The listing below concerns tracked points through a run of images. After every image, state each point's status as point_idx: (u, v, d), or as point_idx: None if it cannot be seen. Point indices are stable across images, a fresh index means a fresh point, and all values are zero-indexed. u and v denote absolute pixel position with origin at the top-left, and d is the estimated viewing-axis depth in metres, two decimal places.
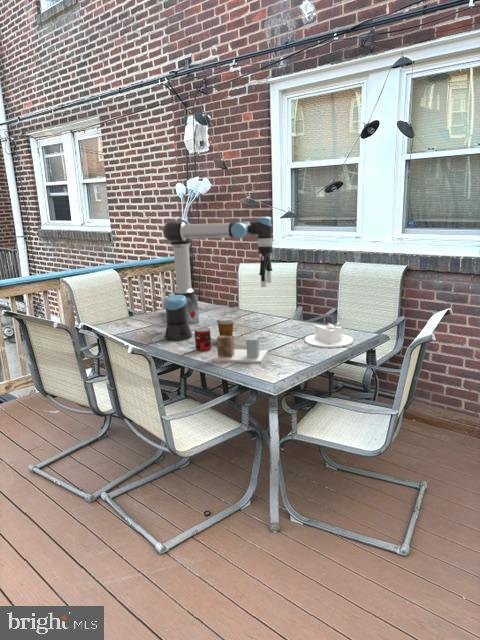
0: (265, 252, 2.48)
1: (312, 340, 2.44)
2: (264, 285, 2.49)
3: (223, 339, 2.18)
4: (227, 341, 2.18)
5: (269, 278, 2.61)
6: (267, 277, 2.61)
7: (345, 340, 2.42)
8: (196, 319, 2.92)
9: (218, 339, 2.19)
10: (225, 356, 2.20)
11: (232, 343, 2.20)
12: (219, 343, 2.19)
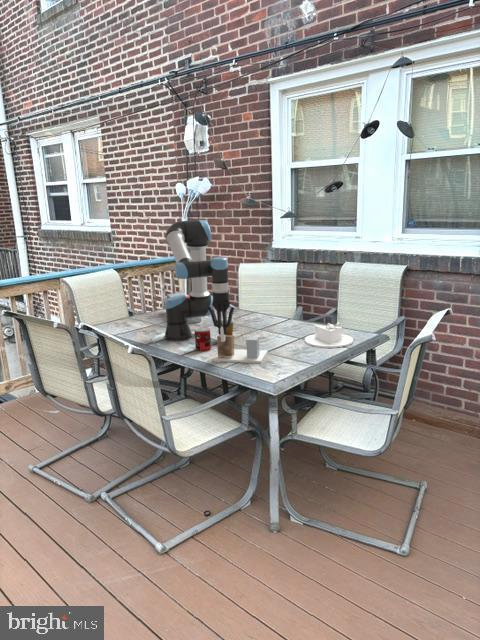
0: None
1: (312, 340, 2.44)
2: None
3: None
4: (227, 340, 2.19)
5: None
6: None
7: (345, 340, 2.42)
8: (198, 318, 2.93)
9: (219, 338, 2.20)
10: (225, 355, 2.20)
11: (232, 342, 2.20)
12: (219, 342, 2.20)
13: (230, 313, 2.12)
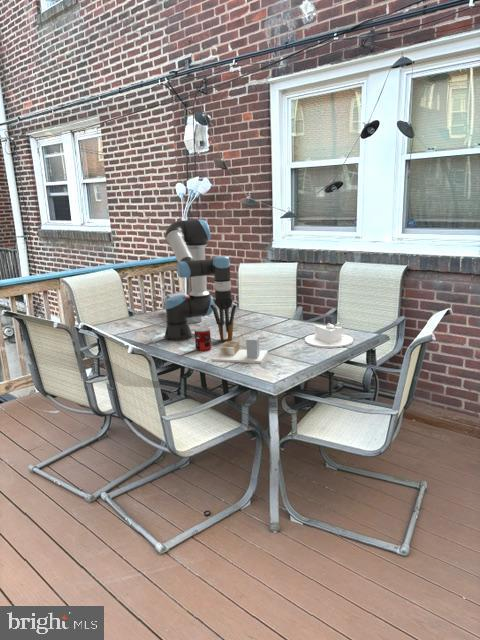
0: (215, 296, 2.16)
1: (312, 340, 2.44)
2: None
3: (231, 342, 2.32)
4: (234, 342, 2.30)
5: None
6: None
7: (345, 340, 2.42)
8: (198, 318, 2.93)
9: (226, 341, 2.32)
10: (228, 347, 2.24)
11: (237, 348, 2.29)
12: (226, 343, 2.30)
13: (232, 311, 2.15)
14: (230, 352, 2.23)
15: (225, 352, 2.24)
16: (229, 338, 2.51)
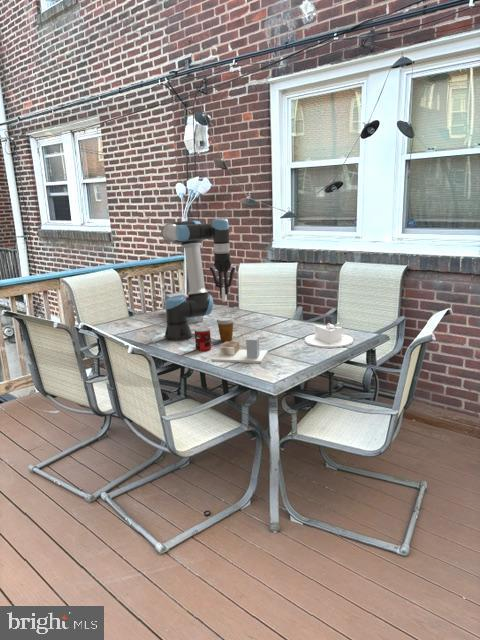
0: None
1: (312, 340, 2.44)
2: None
3: (231, 342, 2.32)
4: (234, 342, 2.30)
5: None
6: None
7: (345, 340, 2.42)
8: (200, 318, 2.94)
9: (226, 341, 2.32)
10: (228, 347, 2.24)
11: (237, 348, 2.29)
12: (226, 343, 2.30)
13: (231, 273, 2.19)
14: (230, 352, 2.23)
15: (225, 352, 2.24)
16: (229, 338, 2.51)
